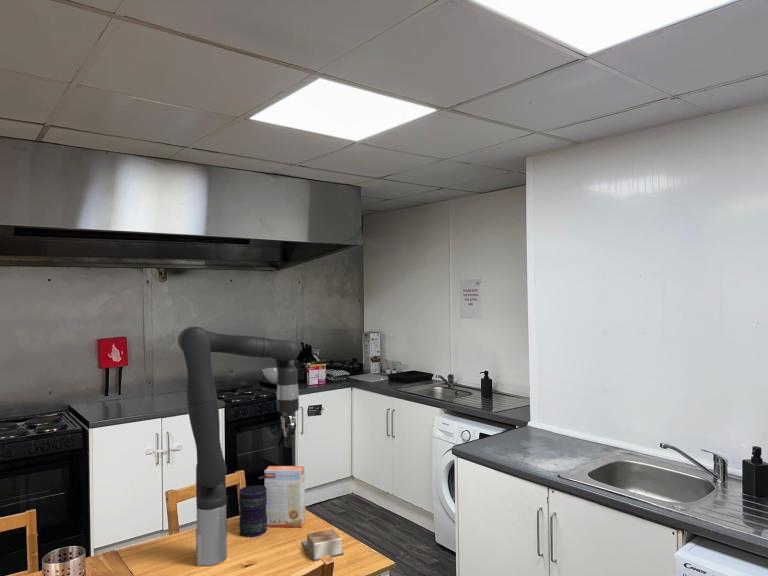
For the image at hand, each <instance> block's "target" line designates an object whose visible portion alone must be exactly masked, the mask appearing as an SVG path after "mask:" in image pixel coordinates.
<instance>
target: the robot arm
mask: <svg viewBox="0 0 768 576" xmlns="http://www.w3.org/2000/svg"><path fill="white" fill-rule="evenodd" d="M177 344H178V347H179V348H180V350H181V351H182V353H183V357H184V359H185V365H186V371H187V381H186V383H187V384H186V404H187V412H188V413H187V414H188V416H189V417H188V418H189V423H190V426H191V427H190V428H191V431H192V435H193V439H194V443H195V449H196V450H195V451H196V465H195V468H196V469H195V494H196V495H195V498H196V504H195V505H196V528H195V559H196V564H197V566H198V567H200V566H208V567H209V566H213V565H217V564H220V563H222V562H224V561H225V560H226V559H228V558H227V557H228V547H227V546H228V544H227V543H228V542H227V541H228V538H227V537H228V532H227V531H228V530H227V523H228V522H227V515H228V514H227V488H226V487H227V486H226V482H227V481H226V477H227V472H228V470H227V464H226V460H225V459H224V454H223V451H222V444H221V437H220V436H221V435H220V431H221V430H220V429H221V427H220V423H221V422H220V410H219V400H218V395H217V389H216V385H215V379H214V375H213V369H212V358H211V356H212V355H211V353H221V354H228V355H235V356H243V357H248V358H258V359H259V358H260V359H266V358H267V359H274V360H275V365H276V370H277V379H276V380H277V385H276V387H277V388H276V411H277V412H278V413H282V415H281V416H280V419H279V420H280V424H281V430H282V433H283V436H284V447H285V448H292V447H293V436H295V433H296V427H297V422H295V421H296V416H295V415H294V412H297V411H299V409H300V404H299V403H300V399H299V398H300V396H299V393H300V392H299V390H300V389H299V383H298V381H299V379H298V376H299V375H298V368H296V366H295V359H297V358H298V357H299V355H300V353H301V349H300V346H299V344H298V343H297V342H296V341H293V340H290V339H275V338H274V339H273V338H270V337H269V338H268V337H262V336H254V335H242V334H241V335H238V334H237V335H234V334H224V333H217V332H212V331H208V330H205V328H203V327H201V326H189V327H186V328H185V329H183V330H182V331H181V332H180V333H179V335H178V338H177Z"/></svg>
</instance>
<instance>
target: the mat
mask: <svg viewBox="0 0 768 576" xmlns="http://www.w3.org/2000/svg"><path fill="white" fill-rule="evenodd" d="M301 545H302V546H303V548H304V549H305V551H306V552H307V554H308V555H309V556H310V558H311V560H312V561H313V562H316V561H320V560H319V559H320V558H319V559H315V558H314V557H313V556H312V554H311V553H310V551H309V550H308V548H307V540H304V541H301ZM342 555H344V551H343V550H342V553H341V554H337V555H332V556H331V557H330V558H333V557H338V556H342Z"/></svg>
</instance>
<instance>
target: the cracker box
mask: <svg viewBox="0 0 768 576" xmlns="http://www.w3.org/2000/svg"><path fill="white" fill-rule="evenodd" d="M263 473H264V486H265V487H266V492H267V504H266V514H267V528H268V527H269V528H270V527H271V528H302V527H303V526H304V524H305V522H306V491H305V490H306V489H305V488H306V487H305V485H306V484H305V483H306V482H305V466H304V465H269V466H267V468H266V469H264V472H263Z"/></svg>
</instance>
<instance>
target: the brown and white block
mask: <svg viewBox="0 0 768 576" xmlns="http://www.w3.org/2000/svg"><path fill="white" fill-rule="evenodd" d="M306 541H307V548H308V550H309V551H310V553H311V554H312V556H313V557H314V558H315V559H319V558H321V557H322V556H325V555H330V556H332V555H337V554H341V553H342V551H343V548H342V547H343V546H342V545H343V544H342V538H341V537H340V536H339V534H338V533H337V531H335V530H334V528H331V529H325V530H320V531H316V532H310V533H306Z"/></svg>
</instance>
